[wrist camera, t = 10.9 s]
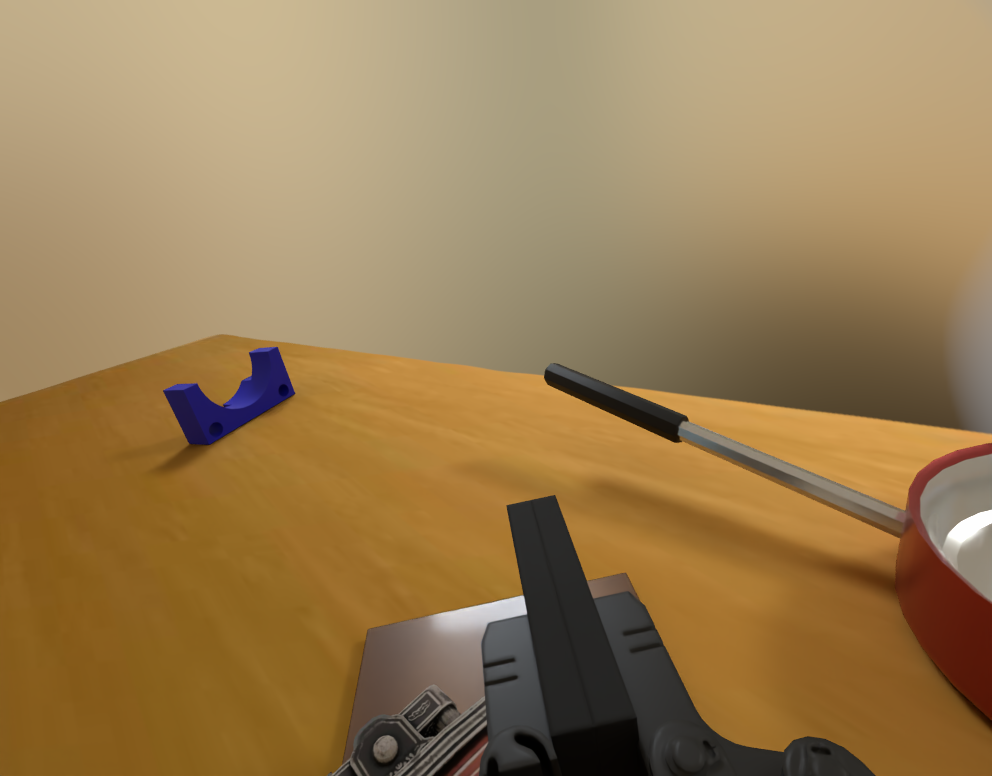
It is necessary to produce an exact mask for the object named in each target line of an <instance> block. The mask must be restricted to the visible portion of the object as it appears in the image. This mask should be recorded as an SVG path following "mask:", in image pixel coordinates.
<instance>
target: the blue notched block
mask: <svg viewBox="0 0 992 776" xmlns="http://www.w3.org/2000/svg"><path fill="white" fill-rule="evenodd" d="M249 354H250V357H251V362H252V376H250V377H248V378H246V379H244V380H242V382H241V385H240V387H239V389H238V391H237V392H236V394H235V395H234V396H233V397H232V398H231V399H230V400H229V401H228V402H226V403H225V404H223V406H224V407H221V406H219V405H217V404H215V403H213V402H212V401H211V400H209V399H208V398H207V397H206V396H205V395H204V393H203V392H202V391H201V389H200V388H199V386H198V384H177V385H174V386H172V387H170V388H168V389H165V390H163V392H164V394H165V396H166V398H167V400H168V402H169V404H170V406H171V408H172V410H173V412H174V414H175V416H176V418H177V420H178V422H179V424H180V426H181V428H182V430H183V432H184V434H185V436H186V438H187V440H188V442H189V444H205V445H209V444H211V443H213V442H214V441H216V440H218V439H219V438H221V437H223V436H225V435H226V434H228V433H230V432H231V431H233V430H235V429H236V428H238V427H240V426H241V425H243V424H245V423H246V422H248V421H250V420H251V419H253V418H255V417H256V416H258V415H260V414H262V413H263V412H265V411H267V410H268V409H270V408H272V407H273V406H275V405H277V404H278V403H280V402H282V401H283V400H285V399H287V398H288V397H290V396H292V395H293V394H295V392H294V389H293V387H292V384H291V381H290V379H289V376H288V373H287V371H286V368H285V366H284V363H283V360H282V358H281V355H280V352H279V350H278V347H270V348H259V349H256V350H254V351H252V352H249Z"/></svg>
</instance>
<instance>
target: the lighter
mask: <svg viewBox="0 0 992 776" xmlns="http://www.w3.org/2000/svg"><path fill="white" fill-rule="evenodd" d="M487 744H488V732H487V719H486V705H485V696H484V697H482V698H481V699H480V700H479V701H477V702H476V703H475V704H474V705H472V706H471V707H470V708H469V709H468V710H466V711H465V712H464V713H463V714H460V713H459V712H458V711H457V707H456V704H455V703H454V702H453V701H452V700H451V699H450V698H449V697H448V696H447V695H446V694H445V693H444V692H443V691H442V690H441V689H440V688H439V687H438V686H437V685H434V684H433V685H431V686H429V687H428V688H426V689H425V690H424V691H423V692H422V693H420V694H419V695H418V696H417V697H416V698H415V699H414V700H413V701H412V702H411V703H410V704H408V705H407V706H406V707H405V708H404V709H403V710H402V711H401V712H400V713H399V714H395V715H392V716H390V715H385V714H384V715H378V716H376V717H373V718H372V719H370V720H369V721H368V722H367V723H366V724H365V725H364V726H363V727H361V728H360V729H359V731H358V733H357V734H356V736H355V739H354V743H353V748H354V750H353V752H352V754H351V757H350V759H349V760H348V761H346V762H345V763H344V764H343V765H342V766H341V767H340V768H339V769H338V770H337V771H336V772H335V773H333V774H332V772H330V773H329V774H328V775H327V776H479V769H480V760H481V757H482V755H483V752H484V750H485V748H486V746H487Z"/></svg>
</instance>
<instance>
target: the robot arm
mask: <svg viewBox="0 0 992 776" xmlns="http://www.w3.org/2000/svg"><path fill="white" fill-rule="evenodd" d="M506 506H507V511H508V516H509V522H510V527H511V532H512V537H513V542H514V548H515V553H516V558H517V563H518V568H519V574H520V579H521V584H522V589H523V594H524V600H525V605H526V610H527V614H526V615H521V616H516V617H512V618H507V619H503V620H498V621H493V622H489V623H488V624H487V627H486V630H485V633H484V636H483V639H482V641H481V651H482V664H483V678H484V691H485V705H486V719H487V732H488V744H487V746H486V748H485V750H484V752H483V755H482V757H481V760H480V769H479V776H875V775H874V774H873V773H872V772H871V771H870V770H869V769H868V768H867V767H866V766H865V765H864V764H863V763H862V762H861V761H860V760H859V759H858V758H856V757H855V756H854V755H853V754H851V753H850V752H849V751H848V750H846V749H845V748H844V747H842V746H839V745H837V744H835V743H833V742H831V741H828V740H826V739H822V738H815V737H808V736H807V737H804V738H800V739H796V740H793V741H792V742H791V743H790V745H789V746H788V747H787V748H786V749H785V750H784V752H778V751H772V750H765V749H758V748H751V747H746V746H742V745H739V744H735V743H733V742H731V741H729V740H727V739H725V738H723V737H721V736H720V735H719V734H717V733H716V732H715V731H713V730H712V729H711V728H710V727H709V726H708V725H707V724H706V723H705V722H704V721H703V720H702V718H701V717H700V715H699V713H698V712H697V710H696V709H695V707H694V705H693V703H692V701H691V699H690V697H689V694H688V692H687V690H686V688H685V686H684V684H683V682H682V680H681V678H680V676H679V674H678V672H677V670H676V668H675V666H674V664H673V662H672V660H671V658H670V656H669V654H668V652H667V650H666V648H665V646H664V645H663V642H662V640H661V637H660V635H659V633H658V631H657V629H655V625H654V623H653V621H652V619H651V617H650V615H649V613H648V611H647V609H646V607H645V605H643V604H642V603H641V602H640V601H639V600H638V599H637V598H636V597H635V596H634V595H632V594H631V593H630V592H629V591H625V592H621V593H616V594H612V595H607V596H602V597H598V598H593V597H592V594H591V591H590V589H589V586H588V583H587V580H586V578H585V575H584V572H583V570H582V567H581V564H580V561H579V559H578V556H577V553H576V551H575V548H574V545H573V542H572V540H571V537H570V534H569V532H568V529H567V526H566V523H565V521H564V518H563V515H562V513H561V510H560V507H559V504H558V502H557V499H556V496H555V495H553V496H548V497H544V498H539V499H534V500H530V501H525V502H520V503H516V504H511V505H506Z"/></svg>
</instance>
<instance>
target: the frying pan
mask: <svg viewBox="0 0 992 776" xmlns="http://www.w3.org/2000/svg"><path fill="white" fill-rule="evenodd" d="M544 379H545V381H546V383H547V384H548V385H549V386H552V387H554V388H556V389H558V390H560V391H563V392H565V393H567V394H569V395H571V396H574V397H576V398H578V399H580V400H582V401H585V402H587V403H589V404H591V405H593V406H596V407H598V408H600V409H602V410H604V411H606V412H609V413H611V414H613V415H615V416H617V417H620V418H622V419H624V420H626V421H628V422H631V423H633V424H635V425H637V426H639V427H642V428H644V429H646V430H648V431H650V432H653V433H655V434H657V435H659V436H661V437H664V438H666V439H668V440H670V441H672V442H675V443H679V442H682V441H683V442H685V443H688V444H690V445H692V446H694V447H697V448H699V449H701V450H703V451H705V452H708V453H710V454H712V455H714V456H717V457H719V458H721V459H723V460H726V461H728V462H730V463H732V464H734V465H737V466H739V467H741V468H743V469H746V470H748V471H750V472H752V473H755V474H757V475H759V476H761V477H764V478H766V479H768V480H770V481H772V482H775V483H777V484H779V485H781V486H784V487H786V488H788V489H790V490H793V491H795V492H797V493H799V494H802V495H804V496H806V497H808V498H810V499H813V500H815V501H817V502H819V503H822V504H824V505H826V506H828V507H831V508H833V509H835V510H837V511H839V512H842V513H844V514H846V515H848V516H851V517H853V518H855V519H857V520H860V521H862V522H864V523H866V524H869V525H871V526H873V527H875V528H877V529H880V530H882V531H884V532H886V533H889V534H891V535H893V536H895V537H898V538H900V543H899V549H898V554H897V560H896V574H895V590H896V593H897V596H898V599H899V603H900V606H901V609H902V613H903V616H904V618H905V619H906V621H907V623H908V625H909V626H910V628H911V630H912V631H913V633H914V635H915V637H916V638H917V640H918V642H919V643H920V645H921V647H922V648H923V650H924V651H925V652H926V653H927V655H928V656H929V657H930V658H931V659H932V661H933V662H934V663H935V664H936V665H937V667H938V668H939V669H940V670H941V671H942V673H943V674H944V675H945V676H946V677H947V679H948V680H949V681H950V682H951V683H952V684H953V685H954V686H955V687H956V688H957V689H958V690H959V691H960V692H961V693H962V694H963V695H964V696H965V697H966V698H968V699H969V700H970V701H971V702H972V703H973V704H974V705H975V706H976V707H977V708H978V709H979V710H980V711H982V712H983V713H984V714H985V715H986V716H987V717H988V718H989V719H990V720H991V721H992V443H988V444H983V445H978V446H974V447H970V448H965V449H961V450H957V451H954V452H952V453H950V454H947V455H945V456H942V457H940V458H938V459H935V460H933V461H932V462H931V463H930V464H928V465H927V466H926V467H925V468H923V469H922V470H921V471H919V472H918V473H917V475H916V477H915V479H914V481H913V483H912V484H911V486H910V488H909V493H908V498H907V504H906V510H905V511H904V510H901V509H899V508H897V507H894V506H892V505H889V504H887V503H885V502H882V501H880V500H877V499H875V498H872V497H870V496H868V495H865V494H863V493H860V492H858V491H855V490H853V489H851V488H848V487H846V486H843V485H841V484H838V483H836V482H834V481H831V480H829V479H826V478H824V477H822V476H819V475H817V474H814V473H812V472H809V471H807V470H805V469H802V468H800V467H797V466H795V465H792V464H790V463H788V462H785V461H783V460H780V459H778V458H776V457H773V456H771V455H768V454H766V453H763V452H761V451H759V450H756V449H754V448H751V447H749V446H746V445H744V444H742V443H739V442H737V441H734V440H732V439H730V438H727V437H725V436H722V435H720V434H717V433H715V432H713V431H710V430H708V429H705V428H703V427H700V426H698V425H696V424H693V423H691V422H689V420H688V417H687V416H685V415H683V414H680V413H678V412H675V411H673V410H670V409H668V408H665V407H663V406H661V405H658V404H656V403H653V402H651V401H648V400H646V399H643V398H641V397H638V396H636V395H633V394H631V393H629V392H626V391H624V390H621V389H619V388H616V387H614V386H611V385H609V384H606V383H604V382H601V381H599V380H596V379H594V378H591V377H589V376H587V375H584V374H582V373H579V372H577V371H574V370H572V369H569V368H567V367H564V366H562V365H560V364H555V363H553V364H550V365H549V366H548V367H547V368H546V370H545V375H544Z"/></svg>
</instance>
